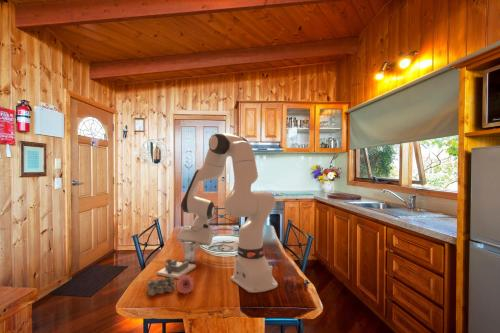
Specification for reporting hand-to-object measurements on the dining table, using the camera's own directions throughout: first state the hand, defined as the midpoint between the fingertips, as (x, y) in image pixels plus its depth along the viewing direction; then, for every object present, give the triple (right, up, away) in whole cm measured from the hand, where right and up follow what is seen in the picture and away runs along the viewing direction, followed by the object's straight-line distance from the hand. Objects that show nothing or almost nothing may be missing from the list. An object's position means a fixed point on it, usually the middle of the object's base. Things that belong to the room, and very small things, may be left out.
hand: (188, 250), depth 138 cm
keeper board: (-3, -6, -12) cm, 14 cm away
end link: (0, -6, +1) cm, 6 cm away
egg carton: (-4, -7, -31) cm, 32 cm away
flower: (+6, -7, -32) cm, 33 cm away
